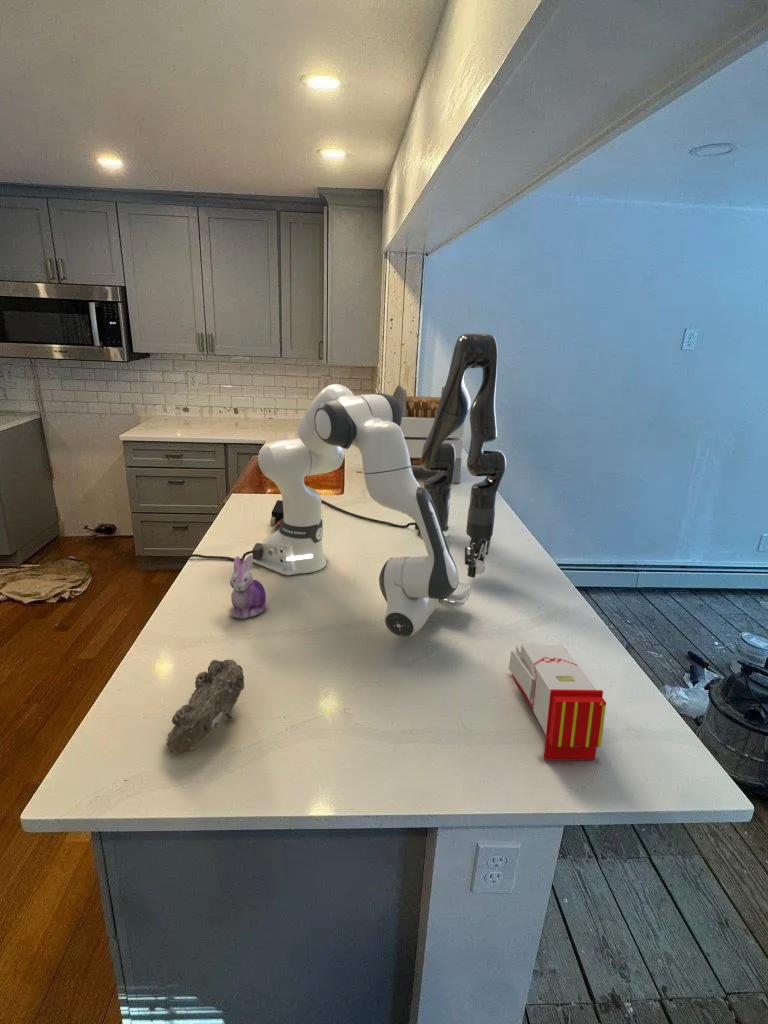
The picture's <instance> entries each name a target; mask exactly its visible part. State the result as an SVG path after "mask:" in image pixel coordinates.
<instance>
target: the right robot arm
mask: <svg viewBox="0 0 768 1024" xmlns="http://www.w3.org/2000/svg"><path fill="white" fill-rule="evenodd" d="M453 348H454V349H453V351H452V356H451V360H450V361H451V362H450V364H449V365H450V366H449V370H448V374H447V377H446V382H445V385H444V387H445V388H444V391H443V394H442V397H441V396H440V397H441V399H440V402H439V405H438V408H437V412H436V416H435V419H434V422H433V425H432V428H431V430H430V433H429V435H428V437H427V439H426V442H425V444H424V446H423V449H422V453H421V465H422V466H421V467H422V469H423V470H424V471H428V472H437V473H436V474H435V475H433V476H431V477H428V478H427V479H425V480H424V482H423V488H424V489H426V490H427V491H428V492H429V494H430V496H431V498H432V501H433V503H434V506H435V509H436V512H437V515H438V518H439V521H440V524H441V527H442V530H443V531H445V532H448V531H449V526H448V525H449V517H450V516H449V514H450V504H451V494H452V493H451V491H452V485H453V483H452V481H453V473H454V466H455V457H456V454H455V448H454V446H453V445H452V444H450V443H443V441H444V440H445V439H446V438H448V437H449V436H450V435H451V434H453V433H454V432H455V431H456V430H457V429H459V428H460V427H461V425H462V424H463V423H464V424H465V421H466V418H467V416H468V414H469V425H470V433H471V434H470V444H469V450H468V453H467V460H466V468H467V471H468V472H469V474H470V475H471V476H473V477H477V478H478V477H485V478H484V479H483V480H481V481H478V482H476V483H474V484H473V485H472V486H471V489H470V496H469V505H468V510H467V518H466V519H467V520H466V530H465V533H466V535H467V536H468V537H470V541H469V543H468V546H465V547H464V565H465V566H467V565H468V570H467V577H469V578H472V579H474V578H476V575H477V574H476V565H477V561H478V560H481V561H483V562H484V563H485V559H486V557H487V556H489V550H490V545H491V540H492V537H493V535H494V534H493V533H494V525H495V515H496V499H497V491H498V489H499V487H500V484H501V481H502V478H503V476H504V474H505V472H506V469H507V468H506V467H507V458H506V456H505V454H504V453H503V452H502V451H501V450H497V449H495V450H494V449H493V450H483V447H484V445H485V444H488V443H491V442H494V441H495V440H496V439H497V437H498V430H497V415H496V391H497V390H496V389H497V376H498V375H497V374H498V355H499V354H498V353H499V352H498V344H497V340H496V338H495V336H494V335H492V334H489V333H462V334H460V335H459V336H458V337H457V339H456V341H455V345H454V347H453ZM468 369H481V371H482V380H481V383H480V386H479V389H478V391H477V394H476V395H475V397H474V399H473V402H472V404H471V397H470V395H469V392H468V389H467V387H466V384H465V381H464V379H465V378H464V377H465V374H466V371H467V370H468ZM321 504H325V505H326V506H328V507H330V508H333V509H334V510H336V511H339V512H342V513H344V514H346V515H349V516H352V517H355V518H358V519H362V520H365V521H370V522H373V523H377V524H383V525H387V526H391V527H395V528H400V529H407V528H409V527H410V526H414V530H416V531H417V535H418V536H420V538H422V535H421V532H420V528H419V526H418V524H417V523H416V522H415V521H414V522H409V523H407V524H405V525H404V524H403V525H402V524H396V523H393V522H389V521H385V520H379V519H375V518H370V517H367V516H362V515H359V514H357V513H353V512H350V511H348V510H345V509H343V508H340V507H338V506H336V505H333V504H331V503H330V502H327V501H325V500H323V499H321ZM474 560H475V561H474Z"/></svg>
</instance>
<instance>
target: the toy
mask: <svg viewBox="0 0 768 1024" xmlns="http://www.w3.org/2000/svg"><path fill="white" fill-rule="evenodd" d="M510 651H511V653H510V658H509V659H510V660H509V666H508V669H509V671H510V672H511V676H512V678H513V679H514V681H515V682H516V685H517V686H518V688H519V690H520V691H521V692H522V694H523V697H525V699H526V701H527V703H528V704H529V706H530V708H531V709H532V711H533V713H534V715H535V717H536V719H537V721H538V723H539V725H540V727H541V728H542V731H543V732H544V734H545V739H544V750H543V760H555V761H557V760H560V761H561V760H562V761H563V760H564V761H565V760H567V761H570V760H571V761H595V760H596V754H597V748H601V746H602V740H603V738H602V737H603V732H604V723H605V716H606V707H607V701H606V700H605V698H603V696H604V691H603V690H602V689H597V688H596V687H595V686H594V684H593V683H592V682H591V681H590V679H589V677H587V675H586V674H585V673H584V671H583V670H582V669H581V667H580V666H579V664H578V663H576V660H574V659H573V658H572V656H571V655H570V653H569V652H568V650H567V649H566V648H565V647H564V645H562V644H529V643H525V644H524V643H523V644H522V643H521V645H520V644H519V645H518V644H517V645H515V650H514V649H513V650H510Z"/></svg>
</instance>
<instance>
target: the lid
mask: <svg viewBox="0 0 768 1024" xmlns="http://www.w3.org/2000/svg"><path fill="white" fill-rule="evenodd" d="M474 561H475V559H474ZM466 570H467V571H468V565H466ZM485 572H486V563H485V561H484V562H483V561H481V560H478V561H477V565H476V575H483V574H484V573H485Z"/></svg>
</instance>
